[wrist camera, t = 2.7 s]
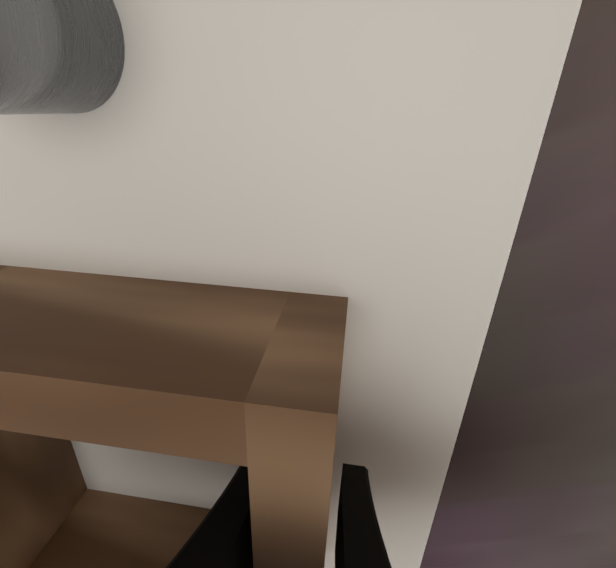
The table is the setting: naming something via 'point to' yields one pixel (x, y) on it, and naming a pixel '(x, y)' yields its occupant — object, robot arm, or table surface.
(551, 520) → the table surface
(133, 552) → the square collar
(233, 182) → the post board
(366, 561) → the robot arm
